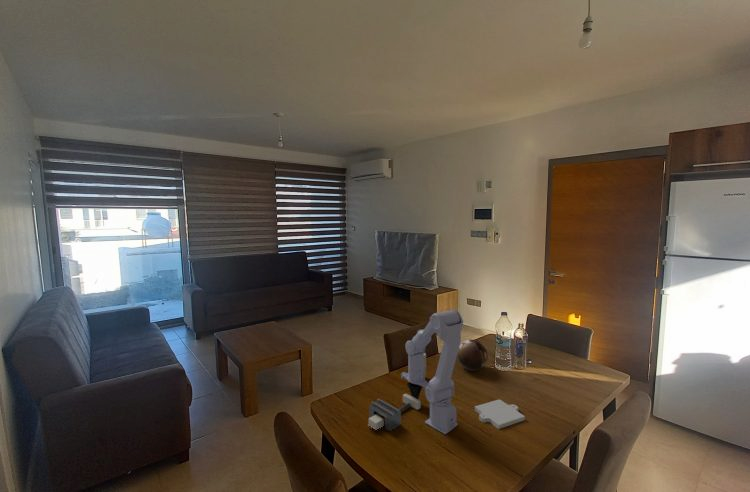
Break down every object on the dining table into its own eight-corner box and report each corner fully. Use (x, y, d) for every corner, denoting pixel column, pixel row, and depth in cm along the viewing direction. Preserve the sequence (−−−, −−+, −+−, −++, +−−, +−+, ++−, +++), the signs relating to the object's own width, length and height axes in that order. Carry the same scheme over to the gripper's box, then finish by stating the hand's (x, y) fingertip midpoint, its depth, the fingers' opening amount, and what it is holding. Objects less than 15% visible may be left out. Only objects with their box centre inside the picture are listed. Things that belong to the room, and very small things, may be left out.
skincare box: (411, 378, 159) (411, 354, 158) (414, 374, 163) (414, 351, 162) (423, 381, 157) (423, 356, 155) (426, 377, 160) (426, 353, 159)
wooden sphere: (451, 365, 173) (451, 337, 172) (475, 360, 177) (476, 333, 176) (467, 378, 159) (467, 348, 157) (493, 373, 163) (494, 343, 162)
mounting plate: (493, 431, 120) (493, 426, 120) (469, 412, 132) (469, 408, 132) (529, 419, 127) (529, 414, 127) (504, 402, 139) (504, 397, 139)
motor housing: (401, 424, 124) (400, 408, 123) (389, 431, 120) (389, 415, 119) (380, 412, 132) (380, 397, 131) (369, 418, 128) (369, 403, 127)
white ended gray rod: (420, 407, 134) (420, 400, 134) (377, 435, 118) (377, 427, 117) (405, 400, 140) (405, 393, 140) (362, 425, 124) (362, 417, 123)
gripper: (435, 370, 134) (435, 402, 135) (408, 359, 145) (408, 389, 146) (424, 376, 129) (424, 409, 131) (397, 364, 140) (397, 395, 141)
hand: (415, 399), depth 138 cm, fingers closed, pressing on white ended gray rod
